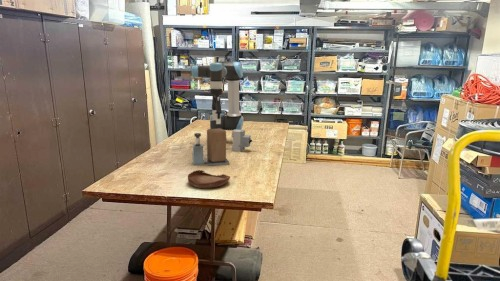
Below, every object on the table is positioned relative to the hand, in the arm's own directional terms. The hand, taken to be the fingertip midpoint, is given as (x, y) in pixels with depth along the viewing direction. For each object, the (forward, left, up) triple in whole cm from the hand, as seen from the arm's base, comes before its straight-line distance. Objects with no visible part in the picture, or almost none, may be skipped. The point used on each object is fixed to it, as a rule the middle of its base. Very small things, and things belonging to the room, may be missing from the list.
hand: (216, 122), depth 215 cm
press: (0, -4, -26) cm, 27 cm away
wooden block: (0, 0, -25) cm, 25 cm away
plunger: (0, -12, -17) cm, 20 cm away
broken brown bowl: (+38, -11, -27) cm, 48 cm away
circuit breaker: (-26, +24, -27) cm, 44 cm away
